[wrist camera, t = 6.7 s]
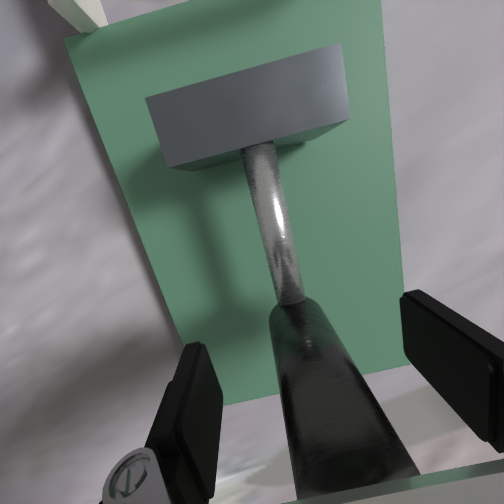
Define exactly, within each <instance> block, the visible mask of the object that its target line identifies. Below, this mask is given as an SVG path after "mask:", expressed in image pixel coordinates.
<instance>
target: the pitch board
mask: <svg viewBox="0 0 504 504" xmlns="http://www.w3.org/2000/svg"><path fill="white" fill-rule="evenodd" d="M63 42H64V44H65V47H66V50H67V52H68V55H69V57H70V60H71V62H72V65H73V67H74V70H75V72H76V75H77V77H78V80H79V83H80V85H81V88H82V90H83V93H84V95H85V98H86V100H87V103H88V105H89V108H90V111H91V113H92V116H93V118H94V121H95V123H96V126H97V128H98V131H99V133H100V136H101V138H102V141H103V144H104V146H105V149H106V151H107V154H108V156H109V159H110V161H111V164H112V166H113V169H114V171H115V174H116V177H117V179H118V182H119V184H120V187H121V189H122V192H123V194H124V197H125V199H126V202H127V205H128V207H129V210H130V212H131V215H132V217H133V220H134V222H135V225H136V227H137V230H138V232H139V235H140V238H141V240H142V243H143V245H144V248H145V250H146V253H147V255H148V258H149V260H150V263H151V266H152V268H153V271H154V273H155V276H156V278H157V281H158V283H159V286H160V288H161V291H162V293H163V296H164V299H165V301H166V304H167V306H168V309H169V311H170V314H171V316H172V319H173V321H174V324H175V327H176V329H177V332H178V334H179V337H180V339H181V342H182V344H183V347H185V345H186V344H188V343H193V342H197V341H200V343H201V344H205V345H206V348H207V350H208V353H209V356H210V359H211V361H212V364H213V367H214V370H215V372H216V375H217V378H218V381H219V384H220V386H221V389H222V392H223V406H226V405H230V404H235V403H239V402H244V401H248V400H253V399H257V398H262V397H266V396H271V395H275V394H280V391H279V385H278V379H277V373H276V367H275V361H274V354H273V348H272V342H271V336H270V330H269V316H270V313H271V311H272V309H273V308H274V307H275V305H277V304H278V303H277V299H276V295H275V291H274V287H273V283H272V279H271V275H270V271H269V267H268V263H267V259H266V254H265V250H264V246H263V242H262V238H261V234H260V230H259V226H258V222H257V218H256V214H255V210H254V206H253V202H252V198H251V194H250V190H249V186H248V182H247V178H246V174H245V170H244V166H243V162H242V159H240V160H236V161H232V162H228V163H225V164H221V165H217V166H213V167H210V168H206V169H202V170H198V171H195V172H191V171H185V170H178V169H172V168H168V167H167V164H166V161H165V158H164V155H163V152H162V149H161V146H160V143H159V140H158V137H157V134H156V131H155V128H154V125H153V122H152V119H151V116H150V113H149V110H148V107H147V104H146V101H145V97H149V96H153V95H156V94H160V93H163V92H167V91H170V90H174V89H177V88H181V87H184V86H188V85H191V84H195V83H198V82H202V81H205V80H209V79H212V78H216V77H219V76H223V75H227V74H230V73H234V72H237V71H241V70H244V69H248V68H251V67H255V66H258V65H262V64H265V63H269V62H272V61H276V60H279V59H283V58H286V57H290V56H293V55H297V54H301V53H304V52H308V51H311V50H315V49H318V48H322V47H325V46H329V45H332V44H336V43H339V42H341V45H342V53H343V61H344V69H345V78H346V86H347V94H348V102H349V110H350V118H351V119H349V120H347V121H346V122H344V123H342V124H340V125H339V126H337V127H335V128H334V129H332V130H330V131H328V132H327V133H325V134H323V135H321V136H320V137H318V138H316V139H314V140H311V141H307V142H303V143H299V144H296V145H292V146H288V147H284V148H281V149H277V150H276V155H277V160H278V165H279V170H280V174H281V179H282V184H283V189H284V194H285V198H286V203H287V208H288V213H289V218H290V222H291V227H292V232H293V237H294V241H295V246H296V251H297V256H298V261H299V265H300V270H301V275H302V280H303V285H304V289H305V294H306V297H308V298H311V299H313V300H314V301H316V302H317V303H318V304H319V305H320V306H321V308H322V310H323V311H324V313H325V315H326V316H327V318H328V320H329V321H330V323H331V325H332V326H333V328H334V330H335V331H336V333H337V335H338V336H339V338H340V340H341V341H342V343H343V345H344V346H345V348H346V350H347V351H348V353H349V355H350V356H351V358H352V360H353V361H354V363H355V365H356V366H357V368H358V370H359V371H360V373H361V375H365V374H369V373H374V372H378V371H383V370H387V369H392V368H396V367H401V366H405V365H410V361H409V360H408V359H407V357H406V356H405V353H404V349H403V337H402V326H401V315H400V303H399V299H400V297H402V295H403V293H404V283H403V270H402V258H401V245H400V233H399V221H398V208H397V196H396V183H395V171H394V158H393V146H392V133H391V121H390V108H389V96H388V84H387V71H386V59H385V46H384V34H383V21H382V9H381V0H190V1H187V2H183V3H180V4H177V5H173V6H170V7H167V8H163V9H160V10H157V11H153V12H150V13H147V14H143V15H140V16H137V17H133V18H130V19H127V20H123V21H120V22H117V23H113V24H110V25H107V26H103V27H100V28H97V29H95V31H93V32H92V33H86V32H83V33H80V34H77V35H73V36H70V37H66V38H63Z"/></svg>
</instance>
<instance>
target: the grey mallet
mask: <svg viewBox="0 0 504 504" xmlns="http://www.w3.org/2000/svg"><path fill="white" fill-rule="evenodd" d="M145 101H146V104H147V107H148V110H149V113H150V116H151V119H152V122H153V125H154V128H155V131H156V134H157V137H158V140H159V143H160V146H161V149H162V152H163V155H164V158H165V161H166V164H167V167H168V168H172V169H178V170H185V171H191V172H195V171H198V170H202V169H206V168H210V167H213V166H217V165H221V164H225V163H228V162H232V161H236V160H240V159H242V162H243V166H244V170H245V174H246V178H247V182H248V186H249V190H250V194H251V198H252V202H253V206H254V210H255V214H256V218H257V222H258V226H259V230H260V234H261V238H262V242H263V246H264V250H265V254H266V259H267V263H268V267H269V271H270V275H271V279H272V283H273V287H274V291H275V295H276V299H277V303H278V304H277V305H275V307H274V308H273V309H272V311H271V313H270V316H269V330H270V336H271V342H272V348H273V354H274V361H275V367H276V373H277V379H278V385H279V391H280V397H281V404H282V410H283V416H284V422H285V428H286V434H287V440H288V446H289V452H290V459H291V465H292V471H293V477H294V483H295V489H296V495H297V500H301V499H306V498H311V497H315V496H320V495H325V494H330V493H335V492H340V491H345V490H350V489H355V488H359V487H364V486H369V485H374V484H379V483H384V482H389V481H394V480H399V479H404V478H409V477H414V476H419V475H420V472H419V470H418V468H417V467H416V465H415V463H414V462H413V460H412V458H411V457H410V455H409V453H408V452H407V450H406V448H405V447H404V445H403V443H402V442H401V440H400V438H399V437H398V435H397V433H396V432H395V430H394V428H393V427H392V425H391V423H390V422H389V420H388V418H387V417H386V415H385V413H384V412H383V410H382V408H381V407H380V405H379V403H378V402H377V400H376V398H375V397H374V395H373V393H372V392H371V390H370V388H369V386H368V385H367V383H366V381H365V380H364V378H363V376H362V375H361V373H360V371H359V370H358V368H357V366H356V365H355V363H354V361H353V360H352V358H351V356H350V355H349V353H348V351H347V350H346V348H345V346H344V345H343V343H342V341H341V340H340V338H339V336H338V335H337V333H336V331H335V330H334V328H333V326H332V325H331V323H330V321H329V320H328V318H327V316H326V315H325V313H324V311H323V310H322V308H321V306H320V305H319V304H318V303H317V302H316V301H314V300H313V299H311V298H308V297H306V294H305V289H304V285H303V280H302V275H301V270H300V265H299V261H298V256H297V251H296V246H295V241H294V237H293V232H292V227H291V222H290V218H289V213H288V208H287V203H286V198H285V194H284V189H283V184H282V179H281V174H280V170H279V165H278V160H277V155H276V150H277V149H281V148H284V147H288V146H292V145H296V144H299V143H303V142H307V141H311V140H314V139H316V138H318V137H320V136H321V135H323V134H325V133H327V132H328V131H330V130H332V129H334V128H335V127H337V126H339V125H340V124H342V123H344V122H346V121H347V120H349V119H351V118H350V110H349V102H348V94H347V86H346V78H345V69H344V61H343V53H342V45H341V42H339V43H336V44H332V45H329V46H325V47H322V48H318V49H315V50H311V51H308V52H304V53H301V54H297V55H293V56H290V57H286V58H283V59H279V60H276V61H272V62H269V63H265V64H262V65H258V66H255V67H251V68H248V69H244V70H241V71H237V72H234V73H230V74H227V75H223V76H219V77H216V78H212V79H209V80H205V81H202V82H198V83H195V84H191V85H188V86H184V87H181V88H177V89H174V90H170V91H167V92H163V93H160V94H156V95H153V96H149V97H145Z"/></svg>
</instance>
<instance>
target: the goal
mask: <svg viewBox="0 0 504 504" xmlns="http://www.w3.org/2000/svg"><path fill="white" fill-rule="evenodd" d="M47 1H48V4H49V5H50V6H51V7H52V8H53V9H54V10H55V11H57V12H58V13H59V14H60V15H61V16H62V17H63V18H64V19H66V20H67V21H68V22H69V23H70V24H71V25H72V26H73V27H74V28H76V29H77V30H78V31H79V32H80V33H83V32H86V33H92V32H93V31H95V29H97V28H100V27H103V26H107V25H108V22H107V19H106V16H105V14H104V11H103V8H102V5H101V2H100V0H47Z"/></svg>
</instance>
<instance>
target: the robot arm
mask: <svg viewBox="0 0 504 504" xmlns="http://www.w3.org/2000/svg"><path fill="white" fill-rule="evenodd" d="M399 303H400V315H401V326H402V337H403V349H404V353H405V356H406V357H407V359H408V360H409V361H410V362H411V363H412V365H413V366H414V367H415V368H416V369H417V370H418V371H419V372H420V373H421V374H422V376H423V377H424V378H425V379H426V380H427V381H428V382H429V383H430V384H431V385H432V387H433V388H434V389H435V390H436V391H437V392H438V393H439V394H440V395H441V396H442V397H443V399H444V400H445V401H446V402H447V403H448V404H449V405H450V406H451V407H452V409H453V410H454V411H455V412H456V413H457V414H458V415H459V416H460V417H461V419H463V421H464V422H465V423H466V424H467V425H468V426H469V427H470V428H471V430H472V431H473V432H474V433H475V434H476V435H477V436H478V437H479V438H480V439H481V440H482V441H485V442H487V441H488V442H489V443H490V444H491V446H492V447H493V448H494V449H495V450H496V451H497V452H498V453H504V342H503V341H501V340H499V339H498V338H496V337H495V336H493V335H491V334H490V333H488V332H487V331H485V330H484V329H482V328H480V327H479V326H477V325H476V324H474V323H472V322H471V321H469V320H468V319H466V318H464V317H463V316H461V315H460V314H458V313H456V312H455V311H453V310H452V309H450V308H448V307H447V306H445V305H444V304H442V303H440V302H439V301H437V300H436V299H434V298H433V297H431V296H429V295H428V294H426V293H425V292H423V291H421V290H419V289H418V290H413V291H409V292H405V293H403V295H402V297H400V299H399ZM222 410H223V392H222V389H221V386H220V384H219V381H218V378H217V375H216V372H215V370H214V367H213V364H212V361H211V359H210V356H209V353H208V350H207V348H206V345H205V344H201V343H200V341H197V342H193V343H188V344H186V345H185V347H184V350H183V353H182V355H181V358H180V361H179V364H178V366H177V369H176V372H175V375H174V377H173V380H172V381H170V382H169V383H168V385H167V388H166V390H165V393H164V396H163V398H162V401H161V404H160V406H159V409H158V412H157V414H156V417H155V420H154V422H153V425H152V427H151V430H150V433H149V435H148V438H147V441H146V443H145V446H144V448H139V449H136V450H133V451H132V452H130V453H128V454H127V455H125V456H124V457H123V458H122V459H121V460H120V461H119V462H118V463H117V464H116V465H115V466H114V468H113V469H112V470H111V472H110V474H109V475H108V477H107V479H106V481H105V484H104V487H103V493H102V501H101V502H100V503H99V504H209V499H211V498H213V496H214V492H215V482H216V472H217V461H218V451H219V441H220V431H221V420H222ZM282 504H504V459H500V460H495V461H490V462H485V463H480V464H475V465H470V466H464V467H459V468H454V469H449V470H444V471H439V472H434V473H429V474H424V475H419V476H414V477H409V478H404V479H399V480H394V481H389V482H384V483H379V484H374V485H369V486H364V487H359V488H355V489H350V490H345V491H340V492H335V493H330V494H325V495H320V496H315V497H311V498H306V499H301V500H296V501H292V502H287V503H282Z"/></svg>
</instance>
